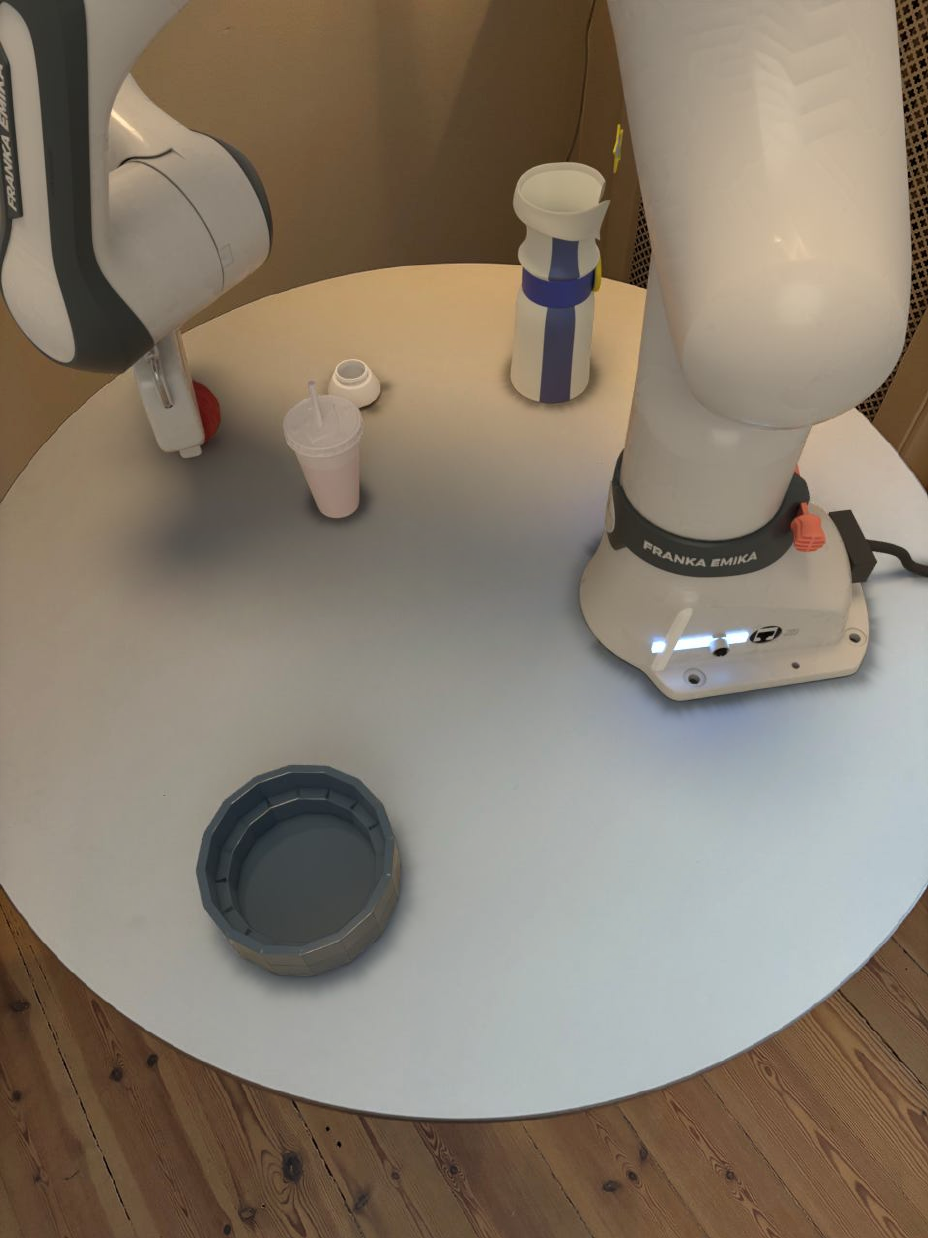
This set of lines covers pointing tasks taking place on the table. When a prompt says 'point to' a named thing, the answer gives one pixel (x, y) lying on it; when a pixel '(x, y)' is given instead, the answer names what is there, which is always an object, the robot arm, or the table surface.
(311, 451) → the smoothie
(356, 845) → the bowl
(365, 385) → the lidless jar
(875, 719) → the table surface
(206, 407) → the red fruit
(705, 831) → the table surface
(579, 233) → the water bottle
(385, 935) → the table surface
